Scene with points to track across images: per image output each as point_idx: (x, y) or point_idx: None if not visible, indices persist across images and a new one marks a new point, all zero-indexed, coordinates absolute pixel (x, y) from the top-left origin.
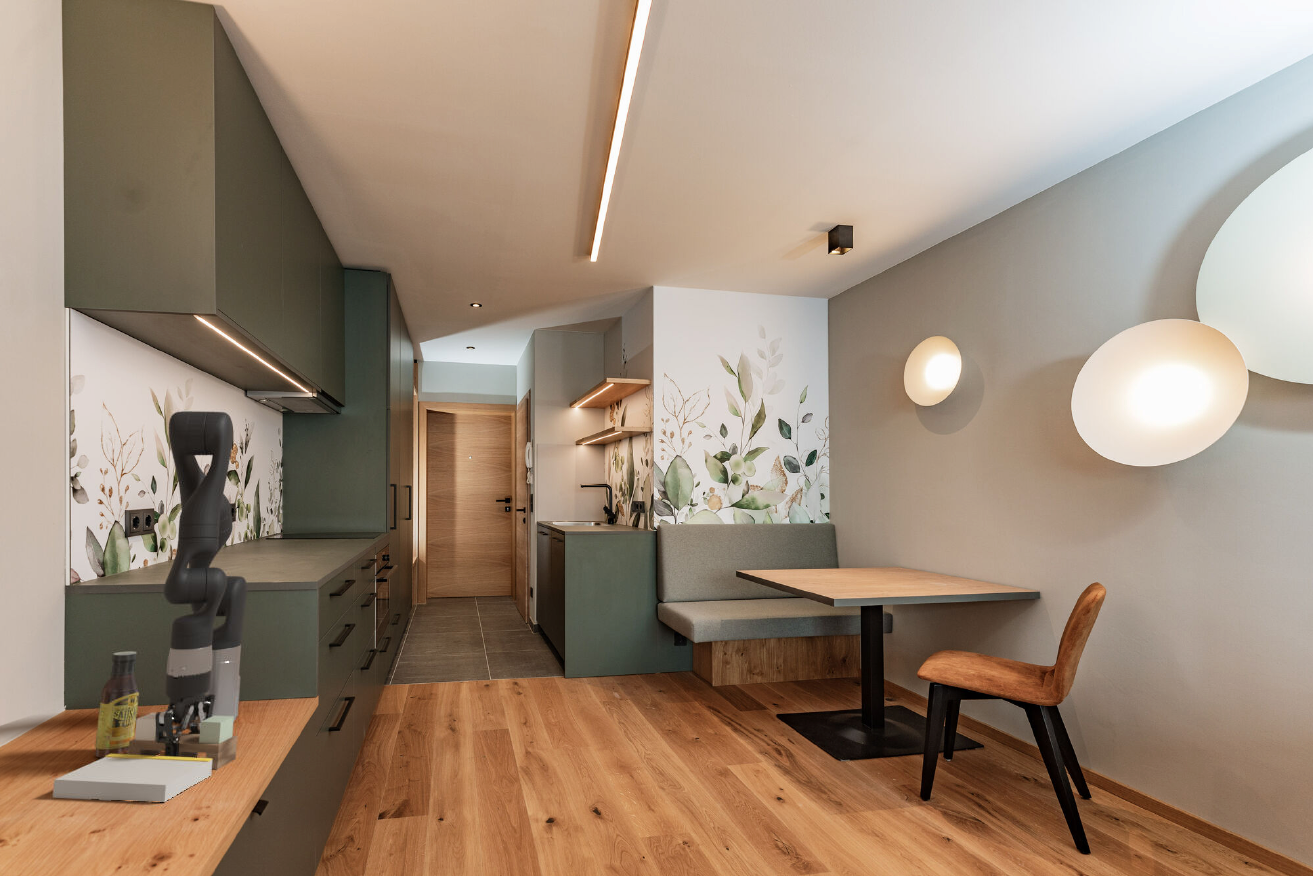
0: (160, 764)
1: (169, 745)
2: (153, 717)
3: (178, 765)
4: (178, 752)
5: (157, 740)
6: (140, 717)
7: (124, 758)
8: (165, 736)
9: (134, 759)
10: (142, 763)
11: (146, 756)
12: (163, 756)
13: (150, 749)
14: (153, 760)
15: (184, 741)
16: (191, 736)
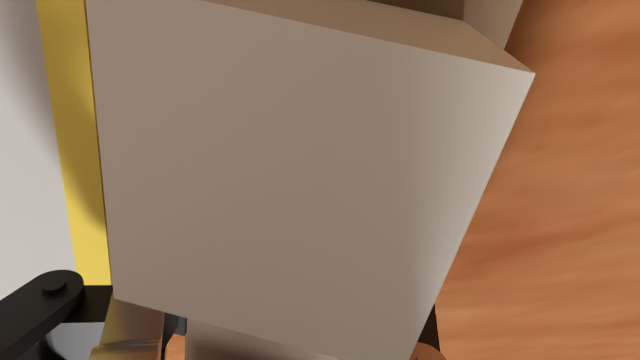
0: (25, 275)
1: None
2: (208, 228)
3: None
4: None
5: (30, 287)
6: (174, 6)
7: (40, 37)
8: (41, 344)
9: (42, 118)
10: (6, 192)
11: (82, 176)
12: (102, 261)
13: None
14: (60, 227)
15: (222, 345)
16: (322, 356)
